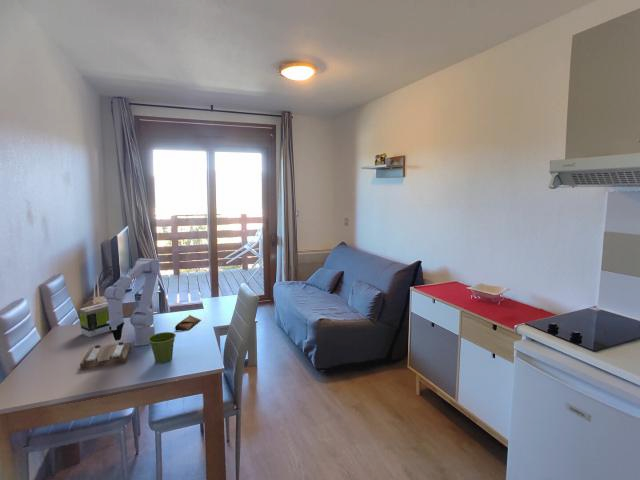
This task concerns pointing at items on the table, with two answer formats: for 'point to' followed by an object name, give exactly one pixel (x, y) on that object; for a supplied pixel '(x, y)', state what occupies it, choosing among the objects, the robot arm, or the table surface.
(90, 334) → the tea box
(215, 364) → the table surface
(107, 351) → the wooden wall rack
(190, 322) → the sunglasses case
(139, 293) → the gum box
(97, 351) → the latch
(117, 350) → the bar
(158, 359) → the plant pot
